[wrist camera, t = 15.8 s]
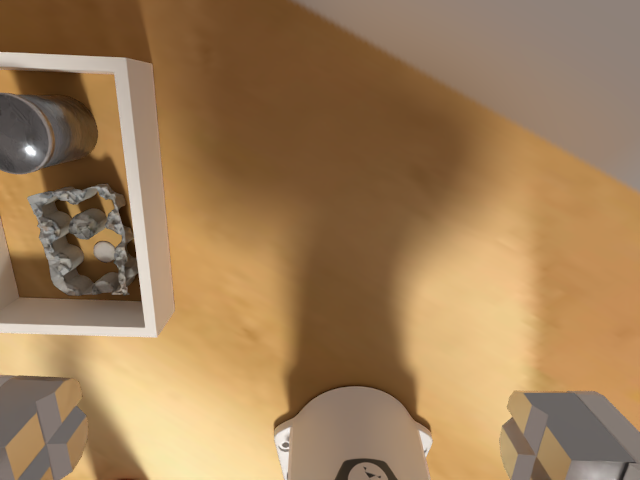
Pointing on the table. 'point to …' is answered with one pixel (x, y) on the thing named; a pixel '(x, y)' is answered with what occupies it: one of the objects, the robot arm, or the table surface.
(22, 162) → the metal tin
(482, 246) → the table surface
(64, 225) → the egg carton
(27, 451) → the robot arm
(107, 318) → the tote
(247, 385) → the table surface
